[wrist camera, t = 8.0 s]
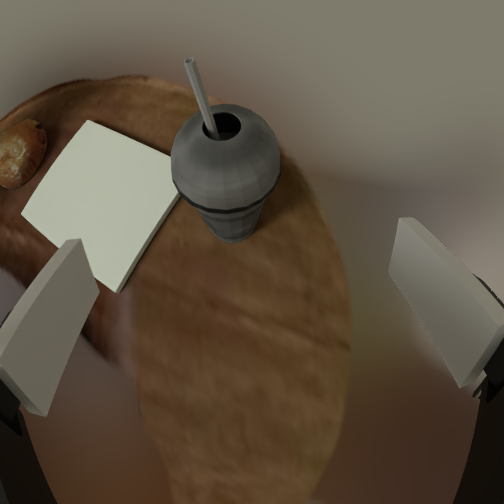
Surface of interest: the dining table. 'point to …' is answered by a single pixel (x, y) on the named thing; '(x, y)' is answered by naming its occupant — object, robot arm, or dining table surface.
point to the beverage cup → (225, 163)
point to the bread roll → (21, 152)
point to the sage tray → (104, 200)
